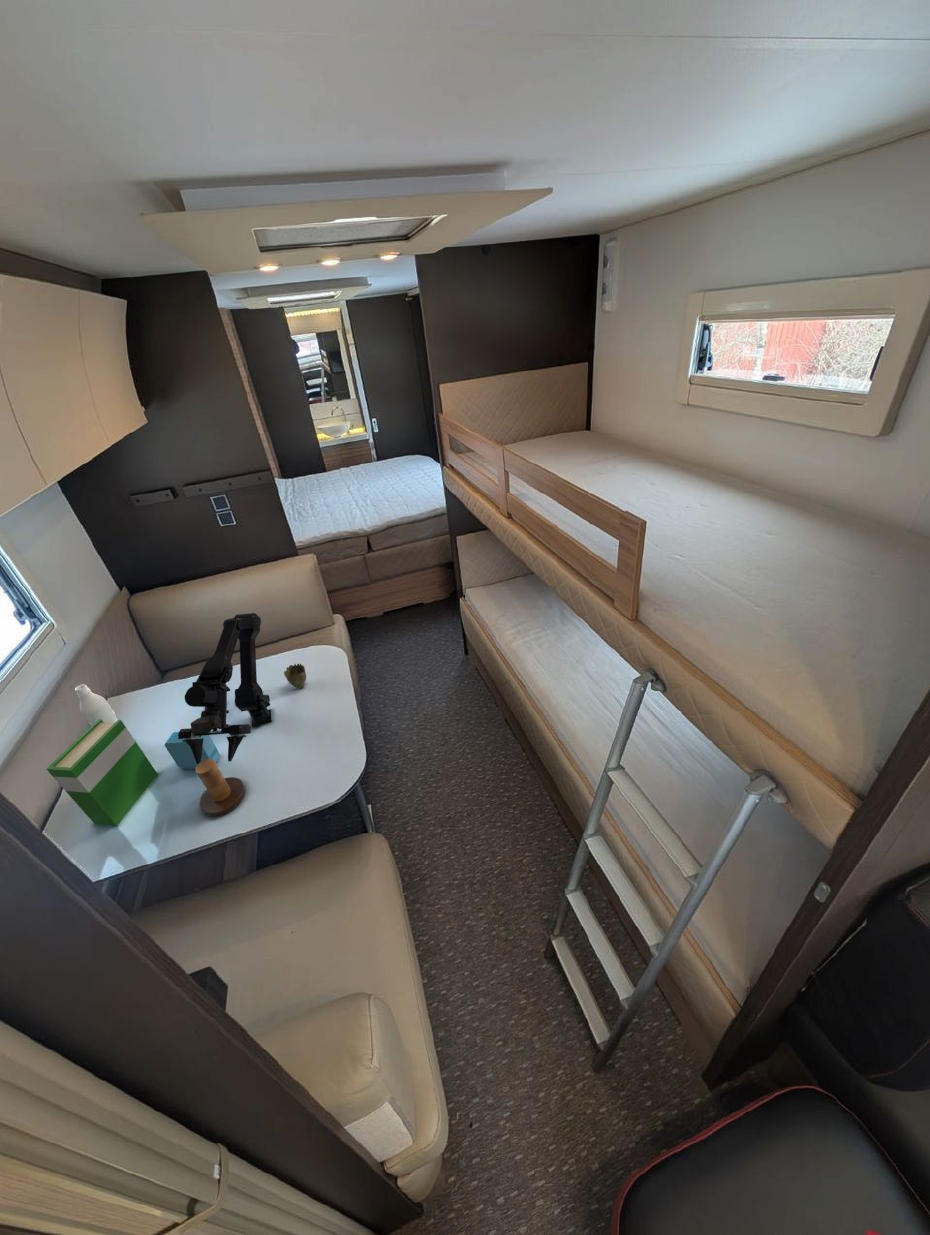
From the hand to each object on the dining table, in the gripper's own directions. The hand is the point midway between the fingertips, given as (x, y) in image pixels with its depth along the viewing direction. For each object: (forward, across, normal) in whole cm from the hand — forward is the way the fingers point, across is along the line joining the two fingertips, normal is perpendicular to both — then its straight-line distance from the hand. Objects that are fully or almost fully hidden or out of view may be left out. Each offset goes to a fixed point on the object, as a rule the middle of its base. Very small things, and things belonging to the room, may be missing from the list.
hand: (214, 762), depth 136 cm
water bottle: (-8, -48, +24) cm, 54 cm away
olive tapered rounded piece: (-23, +9, +40) cm, 47 cm away
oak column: (+9, 0, +4) cm, 10 cm away
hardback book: (+9, -31, +8) cm, 33 cm away
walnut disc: (+11, 0, +6) cm, 12 cm away
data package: (+1, -14, +16) cm, 21 cm away
